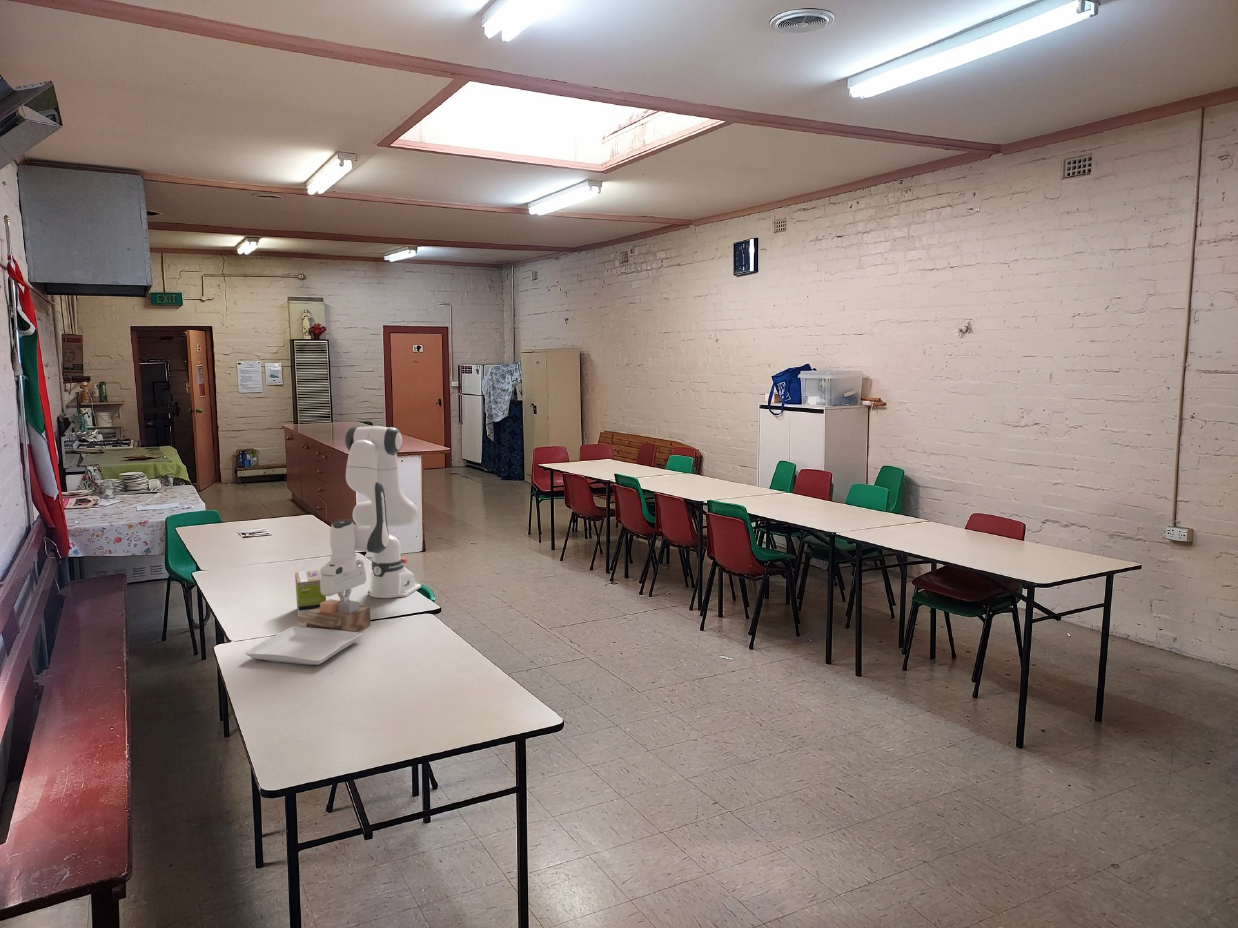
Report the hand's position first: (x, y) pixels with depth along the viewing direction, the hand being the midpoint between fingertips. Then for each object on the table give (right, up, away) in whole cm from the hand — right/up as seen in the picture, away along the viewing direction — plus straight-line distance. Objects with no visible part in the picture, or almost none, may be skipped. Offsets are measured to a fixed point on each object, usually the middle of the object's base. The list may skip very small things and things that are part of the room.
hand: (344, 601), depth 298 cm
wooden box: (-1, -9, -7) cm, 11 cm away
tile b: (+4, -2, -7) cm, 8 cm away
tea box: (-17, -7, +13) cm, 22 cm away
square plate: (-4, -13, -27) cm, 30 cm away
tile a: (-3, -2, -6) cm, 7 cm away
